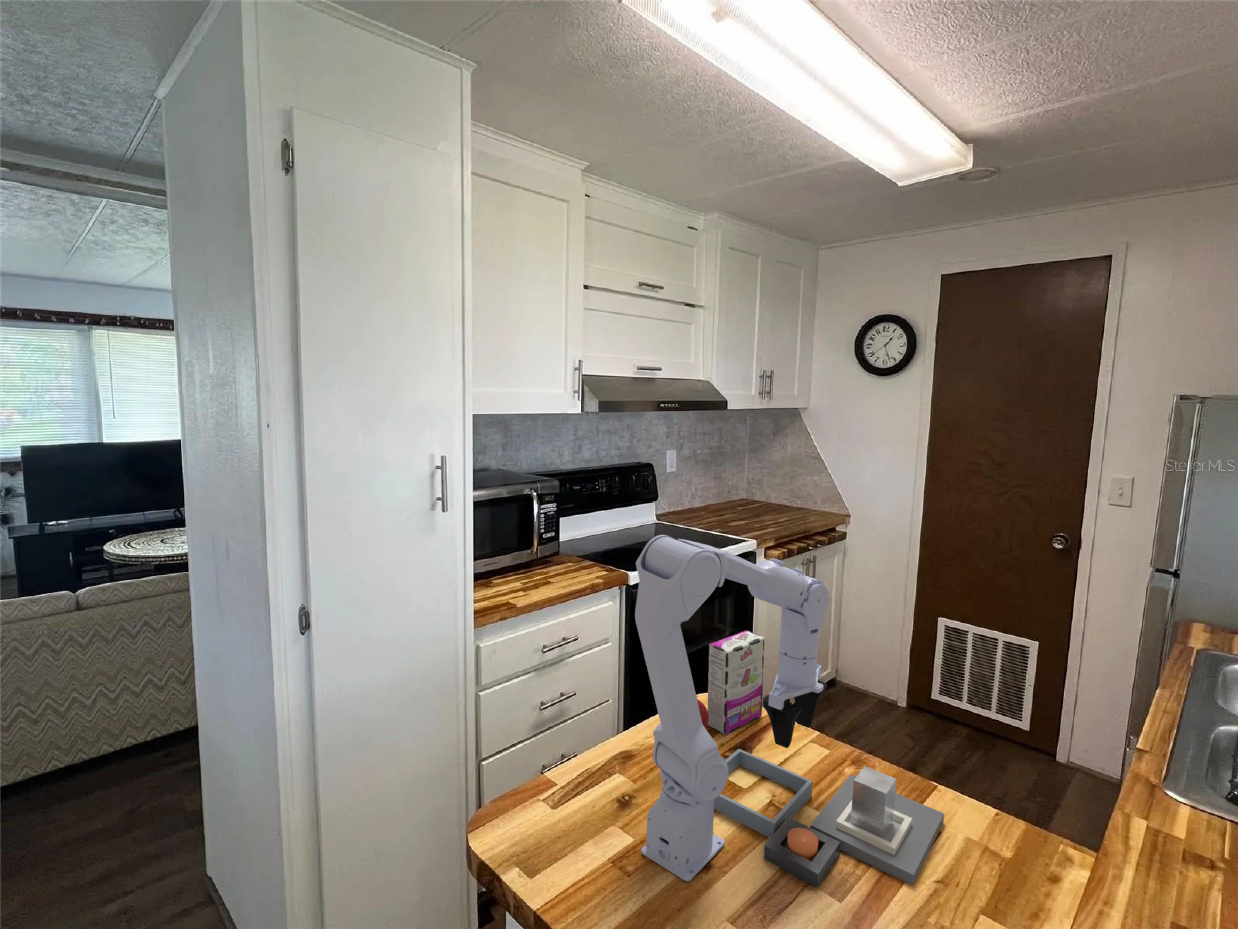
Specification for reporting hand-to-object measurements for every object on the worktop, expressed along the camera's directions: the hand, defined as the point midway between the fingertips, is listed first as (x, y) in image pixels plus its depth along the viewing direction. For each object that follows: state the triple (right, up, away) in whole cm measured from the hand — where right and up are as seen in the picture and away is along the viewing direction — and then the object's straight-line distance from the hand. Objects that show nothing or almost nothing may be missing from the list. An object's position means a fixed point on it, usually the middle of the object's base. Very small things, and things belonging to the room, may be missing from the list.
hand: (793, 734), depth 98 cm
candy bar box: (-5, -8, +24) cm, 25 cm away
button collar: (-2, -12, -11) cm, 17 cm away
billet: (+9, -10, -7) cm, 15 cm away
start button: (-2, -11, -12) cm, 16 cm away
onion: (-14, -8, +18) cm, 24 cm away
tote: (-6, -10, +1) cm, 12 cm away
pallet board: (+11, -11, -5) cm, 17 cm away
